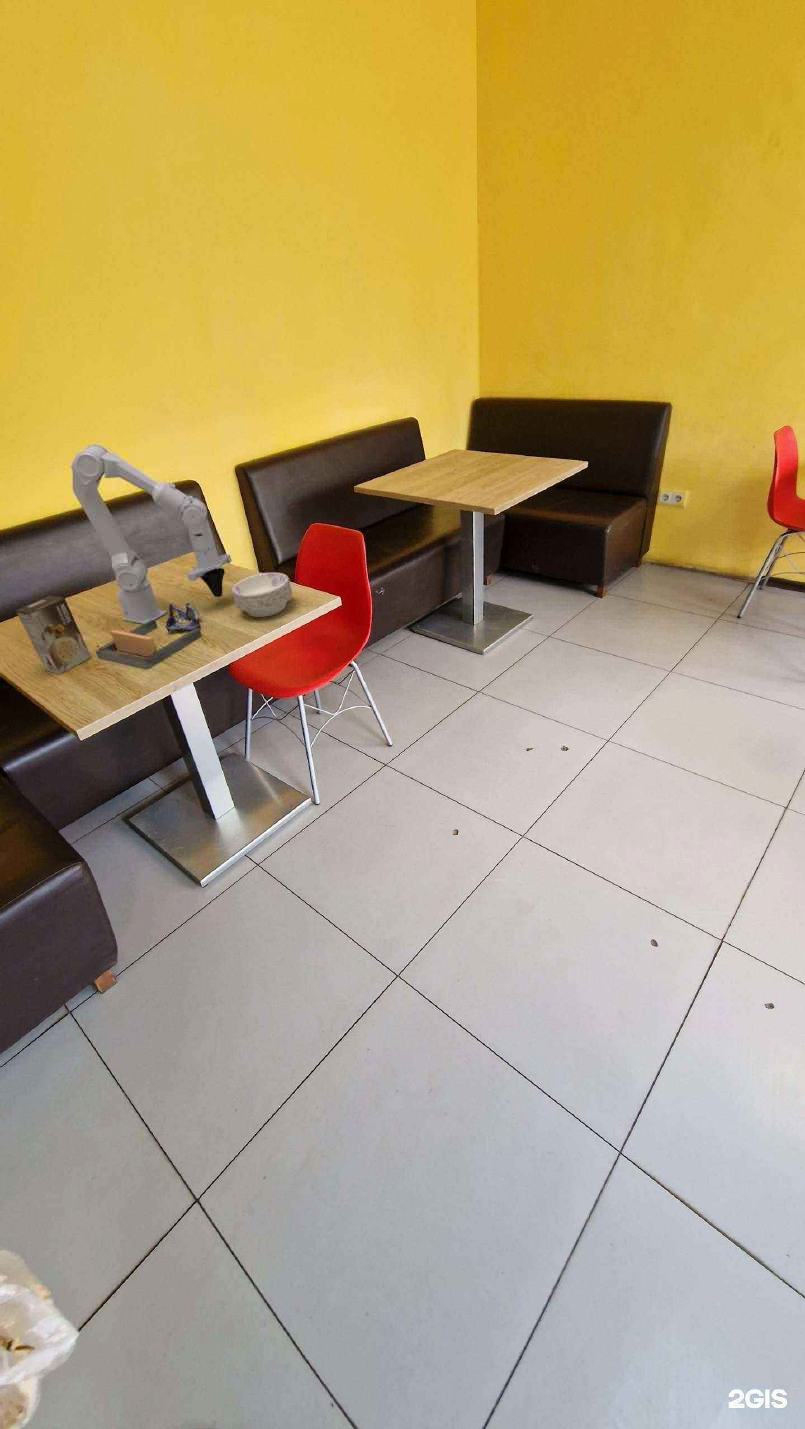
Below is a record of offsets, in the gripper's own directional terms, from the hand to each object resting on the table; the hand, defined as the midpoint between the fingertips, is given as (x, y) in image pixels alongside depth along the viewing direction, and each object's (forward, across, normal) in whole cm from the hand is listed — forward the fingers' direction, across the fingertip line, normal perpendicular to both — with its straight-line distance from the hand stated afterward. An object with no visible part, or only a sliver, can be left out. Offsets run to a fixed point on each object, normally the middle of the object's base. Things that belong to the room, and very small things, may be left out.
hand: (218, 595), depth 174 cm
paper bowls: (+3, +2, -16) cm, 16 cm away
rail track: (+3, -24, 0) cm, 25 cm away
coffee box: (+3, -40, +14) cm, 42 cm away
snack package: (+3, -12, +1) cm, 13 cm away
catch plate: (+3, -30, 0) cm, 30 cm away
